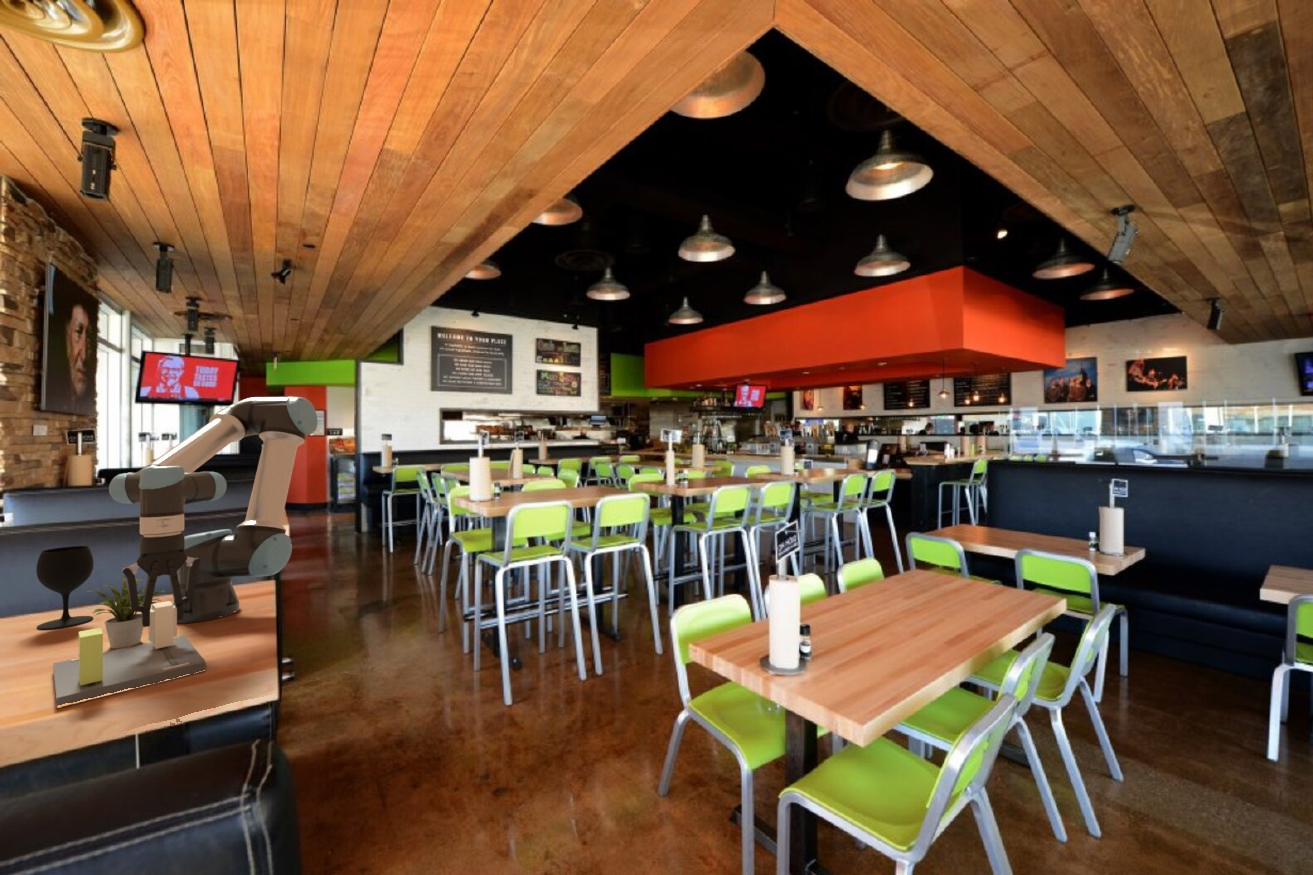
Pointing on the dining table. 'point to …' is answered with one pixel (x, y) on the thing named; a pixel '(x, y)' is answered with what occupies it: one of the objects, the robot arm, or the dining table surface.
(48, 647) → the dining table surface
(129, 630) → the house plant
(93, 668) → the fader lime
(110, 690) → the mixing board
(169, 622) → the fader cream
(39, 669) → the dining table surface
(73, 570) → the wine glass
